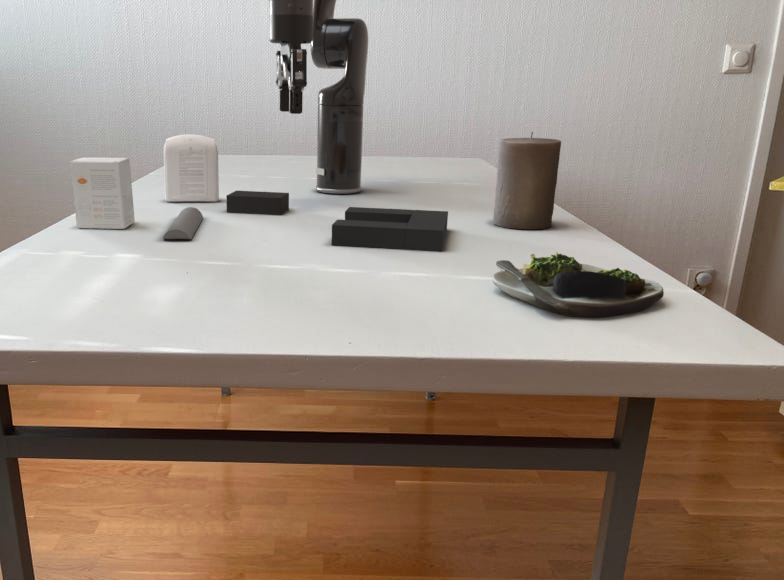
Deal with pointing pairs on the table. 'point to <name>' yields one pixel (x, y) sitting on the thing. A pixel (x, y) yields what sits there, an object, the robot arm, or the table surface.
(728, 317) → the table surface
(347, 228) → the slotted rectangular block
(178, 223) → the half round rod
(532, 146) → the pillar candle
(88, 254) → the table surface
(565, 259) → the salad plate
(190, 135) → the white arched block
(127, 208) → the small box
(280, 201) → the pad piece
